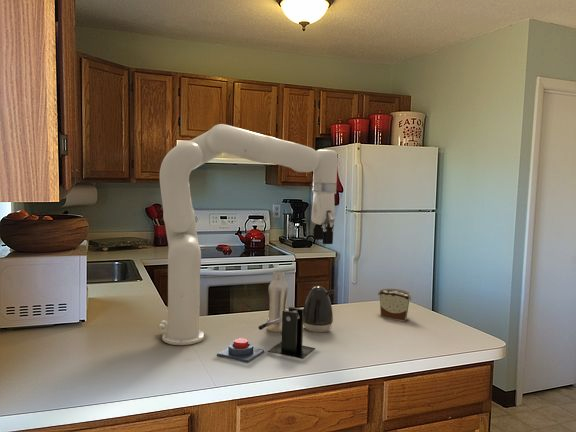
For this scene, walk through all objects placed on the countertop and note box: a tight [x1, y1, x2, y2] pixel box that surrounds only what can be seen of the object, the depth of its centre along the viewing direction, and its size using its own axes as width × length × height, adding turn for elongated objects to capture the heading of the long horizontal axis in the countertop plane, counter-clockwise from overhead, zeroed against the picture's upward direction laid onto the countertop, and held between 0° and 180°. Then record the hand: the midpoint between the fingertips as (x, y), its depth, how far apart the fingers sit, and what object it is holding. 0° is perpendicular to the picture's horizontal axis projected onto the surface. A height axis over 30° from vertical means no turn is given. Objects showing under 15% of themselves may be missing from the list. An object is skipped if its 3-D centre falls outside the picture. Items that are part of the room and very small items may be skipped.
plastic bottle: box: [266, 270, 289, 333], centre depth 155 cm, size 6×7×20 cm
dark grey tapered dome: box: [303, 285, 336, 333], centre depth 157 cm, size 10×10×15 cm
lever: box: [258, 310, 300, 331], centre depth 139 cm, size 12×6×2 cm, turn 64°
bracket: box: [267, 306, 316, 360], centre depth 137 cm, size 11×9×13 cm
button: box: [233, 337, 249, 348], centre depth 133 cm, size 4×4×2 cm
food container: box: [377, 288, 412, 323], centre depth 176 cm, size 12×6×10 cm, turn 58°
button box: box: [216, 341, 265, 364], centre depth 133 cm, size 10×9×4 cm
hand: (322, 241), depth 155 cm, fingers open, 9 cm apart
